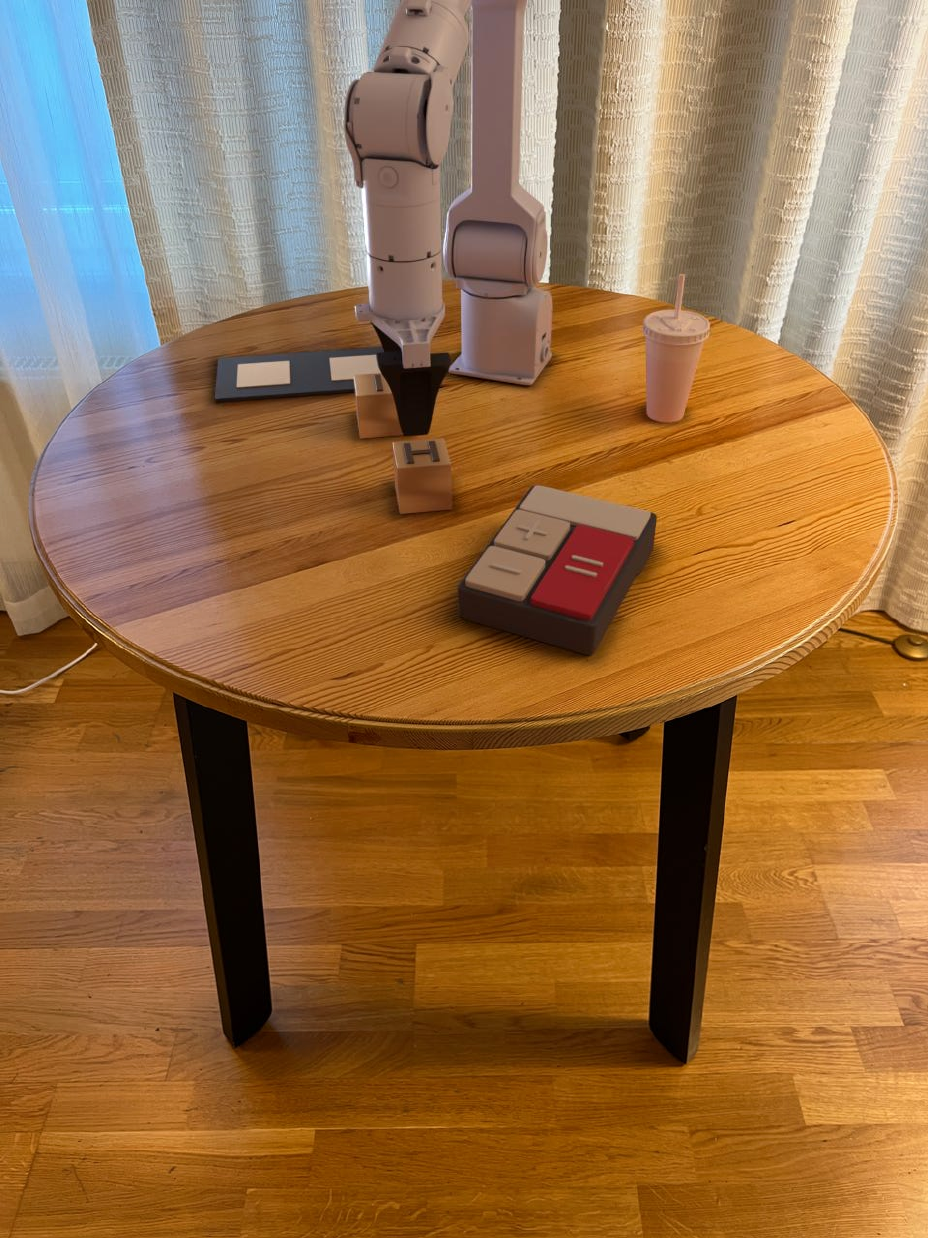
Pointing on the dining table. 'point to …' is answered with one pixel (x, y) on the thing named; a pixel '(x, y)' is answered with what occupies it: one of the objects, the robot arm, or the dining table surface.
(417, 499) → the letter block h
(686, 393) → the smoothie
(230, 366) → the word mat
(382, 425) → the letter block i
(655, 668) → the dining table surface
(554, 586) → the calculator
